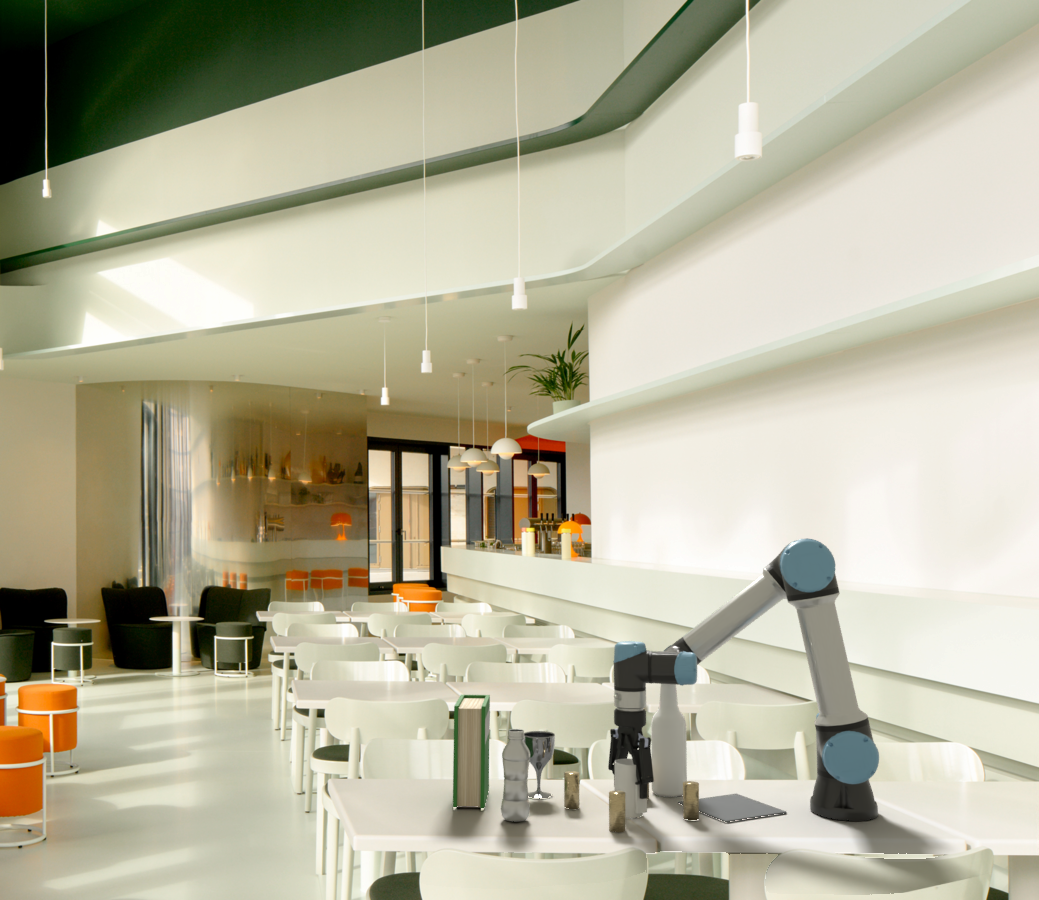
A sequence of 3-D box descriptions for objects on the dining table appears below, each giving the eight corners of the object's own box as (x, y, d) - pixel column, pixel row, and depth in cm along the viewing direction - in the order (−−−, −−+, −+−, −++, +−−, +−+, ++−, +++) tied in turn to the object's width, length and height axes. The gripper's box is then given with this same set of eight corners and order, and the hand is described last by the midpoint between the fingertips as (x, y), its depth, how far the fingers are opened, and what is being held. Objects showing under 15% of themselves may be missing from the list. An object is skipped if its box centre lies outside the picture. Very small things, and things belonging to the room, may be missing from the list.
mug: (643, 819, 216) (643, 765, 217) (613, 818, 217) (613, 764, 218) (644, 808, 226) (644, 756, 227) (616, 806, 227) (616, 755, 228)
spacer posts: (702, 820, 216) (702, 784, 217) (614, 833, 206) (614, 795, 206) (643, 795, 237) (643, 762, 238) (561, 806, 226) (561, 772, 227)
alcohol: (647, 795, 237) (647, 673, 240) (656, 787, 245) (655, 669, 248) (682, 799, 234) (681, 675, 237) (690, 791, 242) (689, 671, 245)
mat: (786, 813, 222) (786, 811, 222) (725, 823, 214) (725, 821, 214) (736, 795, 238) (736, 793, 238) (677, 803, 230) (677, 801, 230)
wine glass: (517, 797, 234) (518, 735, 236) (529, 790, 242) (530, 730, 243) (548, 801, 231) (548, 738, 233) (559, 793, 239) (559, 732, 240)
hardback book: (484, 810, 223) (485, 706, 225) (452, 810, 223) (454, 706, 225) (488, 791, 240) (489, 694, 242) (459, 791, 240) (460, 694, 243)
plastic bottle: (515, 815, 219) (515, 726, 221) (536, 821, 214) (536, 730, 216) (494, 820, 215) (495, 730, 217) (515, 826, 210) (516, 734, 212)
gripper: (593, 702, 231) (593, 799, 229) (641, 716, 213) (642, 821, 210) (619, 700, 235) (619, 795, 232) (669, 714, 216) (670, 817, 214)
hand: (630, 807), depth 221 cm, fingers closed on mug, 8 cm apart
